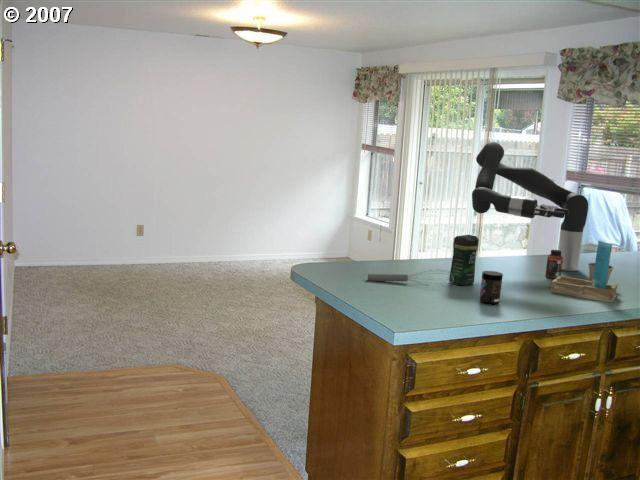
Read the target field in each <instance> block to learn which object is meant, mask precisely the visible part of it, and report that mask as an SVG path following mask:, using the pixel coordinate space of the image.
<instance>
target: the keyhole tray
mask: <svg viewBox="0 0 640 480" xmlns="http://www.w3.org/2000/svg"><path fill="white" fill-rule="evenodd" d="M618 285H619V284H618V283H616V282H615V283H614V284H606V289H602V288H596V287H592V282H590V281H589V279H588V280H586V279H581V278H575V277H569V276H565V275H564V276H563V275H561V276H558V277H557V278H556V279H554V278H553V280H552V281H551V285H550V293H556V294H559V295H560V294H561V295H566V296H571V297H578V298H582V299H589V300H594V301H600V302H604V303H605V302H606V303H609V304H610V303H611V304H612V303H613V301H614V300H615V298H616V297H617V294H618V293H617V291H618V290H617V289H618Z"/></svg>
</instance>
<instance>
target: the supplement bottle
mask: <svg viewBox="0 0 640 480" xmlns="http://www.w3.org/2000/svg"><path fill="white" fill-rule="evenodd" d="M546 260H547V261H546V267H545V277H546V278H549V279H553V280H554V279H556V278H557V277H558V276H562V271H563V270H562V263H563V257H562V256H561V251H560V250H558V249H551V250H550V254H548V255H547V259H546Z"/></svg>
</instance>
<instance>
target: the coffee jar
mask: <svg viewBox="0 0 640 480" xmlns="http://www.w3.org/2000/svg"><path fill="white" fill-rule="evenodd" d="M452 246H453V247H452V249H453V250H452V260H451V266H450V271H449V277H452V275H453V277H452V278H449V277H448V283H450V282H452V280H453V278H454V281H453V282H452V284H453V285H455V286H458V285H459V286H460V285H461V286H470V285H473V284H474V283H475V273H476V258H477V252H478V248H479V238H478V236H476V235H472V234H463V235H457V236H455V237H454V238H453V243H452ZM449 279H452V280H449Z"/></svg>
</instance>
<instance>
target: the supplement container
mask: <svg viewBox="0 0 640 480" xmlns="http://www.w3.org/2000/svg"><path fill="white" fill-rule="evenodd" d="M481 272H482V273H481V283H480V290H479V291H480V292H479V302H480V303H481V304H482V305H487V306H498V305H499V304H500V301H501V295H502V294H501V291H502V285H503V279H504V278H503V277H504V274H503V273H502V272H499V271H494V270H483V271H481Z"/></svg>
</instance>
